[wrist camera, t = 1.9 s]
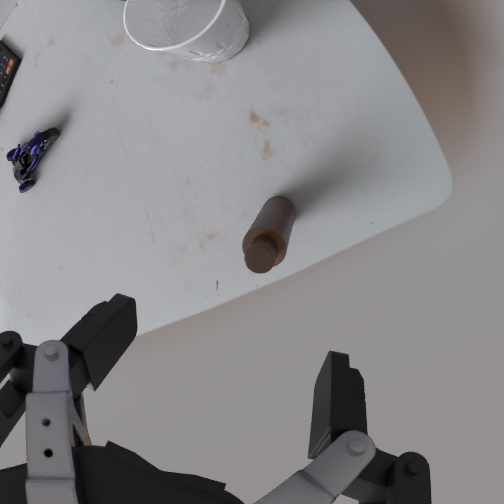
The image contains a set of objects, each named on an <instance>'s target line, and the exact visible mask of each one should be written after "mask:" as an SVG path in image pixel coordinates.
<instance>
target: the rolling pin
mask: <svg viewBox="0 0 504 504" xmlns="http://www.w3.org/2000/svg"><path fill="white" fill-rule="evenodd" d="M294 218H295V208H294V206H293V204H292V203H291V202H290V201H289V200H288V199H286V198H284V197H280V196H277V197H273V198H270V199H269V200H268V201H267V202H266V203H265V204H264V206H263V208H262V209H261V211H260V212H259V214H258V216H257V217H256V219H255V221H254V222H253V224H252V226H251V227H250V229H249V230H248V232H247V234H246V235H245V237H244V239H243V243H242V249H243V253H244V255H245V256H244V261H245V264H246V266H247V267H248V268H249V269H250V270H251V271H253V272H255V273H266V272H268V271H269V270H271V268H272V267H274V266H276V265H278V264H279V263H281V262H282V260H283V259H284V257H285V255H286V251H287V247H288V243H289V239H290V235H291V230H292V226H293V222H294Z"/></svg>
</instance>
